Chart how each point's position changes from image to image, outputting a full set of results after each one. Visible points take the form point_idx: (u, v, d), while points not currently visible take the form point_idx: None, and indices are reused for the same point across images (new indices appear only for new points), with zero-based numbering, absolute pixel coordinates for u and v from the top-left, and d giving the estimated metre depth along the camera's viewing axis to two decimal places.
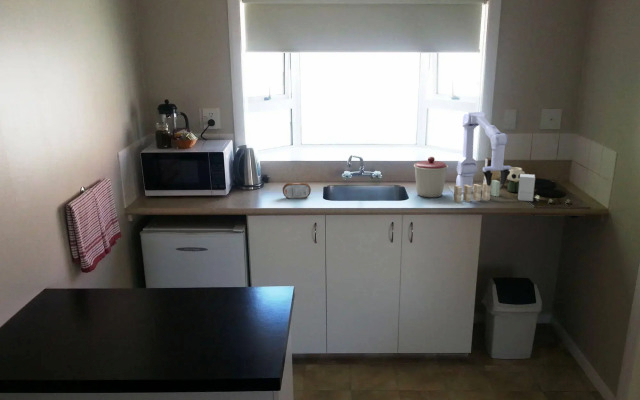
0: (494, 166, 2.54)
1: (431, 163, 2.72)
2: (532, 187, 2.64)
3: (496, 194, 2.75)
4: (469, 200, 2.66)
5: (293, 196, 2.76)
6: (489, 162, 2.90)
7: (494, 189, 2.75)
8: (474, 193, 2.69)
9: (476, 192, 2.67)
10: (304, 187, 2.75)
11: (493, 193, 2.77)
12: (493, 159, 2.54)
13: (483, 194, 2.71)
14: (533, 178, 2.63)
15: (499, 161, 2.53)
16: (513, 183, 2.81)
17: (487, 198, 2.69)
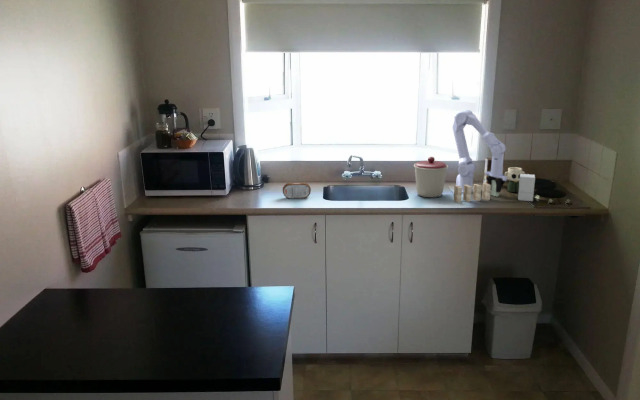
0: None
1: (431, 163, 2.72)
2: (532, 187, 2.64)
3: (496, 194, 2.75)
4: (469, 200, 2.66)
5: (293, 196, 2.76)
6: (489, 162, 2.90)
7: (494, 189, 2.75)
8: (474, 193, 2.69)
9: (476, 192, 2.67)
10: (304, 187, 2.75)
11: (493, 193, 2.77)
12: None
13: (483, 194, 2.71)
14: (533, 178, 2.63)
15: (491, 168, 2.73)
16: (513, 183, 2.81)
17: (487, 198, 2.69)
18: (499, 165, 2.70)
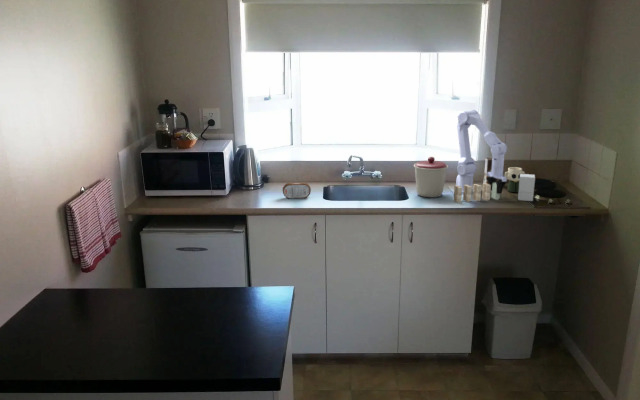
0: None
1: (431, 163, 2.72)
2: (532, 187, 2.64)
3: (496, 197, 2.70)
4: (469, 200, 2.66)
5: (293, 196, 2.76)
6: (489, 162, 2.90)
7: (495, 192, 2.70)
8: (474, 193, 2.69)
9: (476, 192, 2.67)
10: (304, 187, 2.75)
11: (493, 196, 2.71)
12: None
13: (483, 194, 2.71)
14: (533, 178, 2.63)
15: (492, 168, 2.68)
16: (513, 183, 2.81)
17: (487, 198, 2.69)
18: (498, 165, 2.65)
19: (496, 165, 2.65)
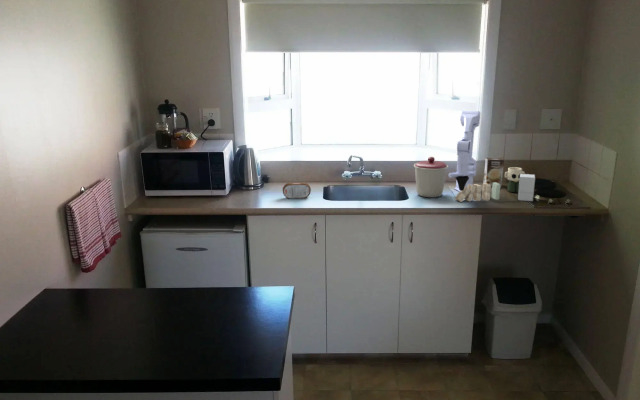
0: (459, 172, 2.61)
1: (431, 163, 2.72)
2: (532, 187, 2.64)
3: (496, 197, 2.70)
4: (469, 200, 2.66)
5: (293, 196, 2.76)
6: (489, 162, 2.90)
7: (495, 192, 2.70)
8: (474, 193, 2.69)
9: (476, 192, 2.67)
10: (304, 187, 2.75)
11: (493, 196, 2.71)
12: (458, 165, 2.61)
13: (483, 194, 2.71)
14: (533, 178, 2.63)
15: (464, 167, 2.60)
16: (513, 183, 2.81)
17: (487, 198, 2.69)
18: (458, 162, 2.61)
19: (457, 162, 2.62)
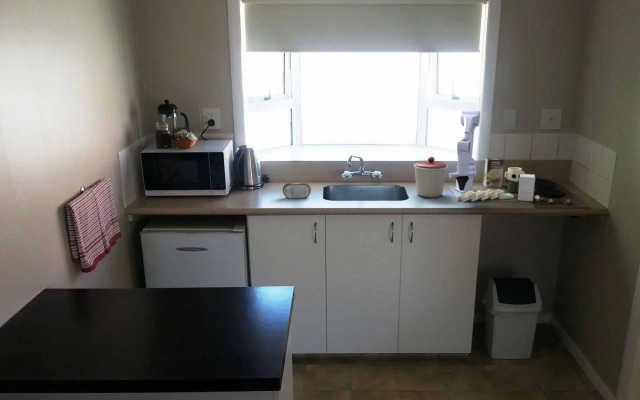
0: (460, 172, 2.61)
1: (431, 163, 2.72)
2: (532, 187, 2.64)
3: (501, 197, 2.71)
4: (473, 199, 2.66)
5: (293, 196, 2.76)
6: (489, 162, 2.90)
7: (504, 195, 2.72)
8: None
9: (487, 193, 2.69)
10: (304, 187, 2.75)
11: None
12: (458, 165, 2.61)
13: None
14: (533, 178, 2.63)
15: (464, 167, 2.60)
16: (513, 183, 2.81)
17: (492, 196, 2.69)
18: (458, 162, 2.61)
19: (457, 162, 2.62)
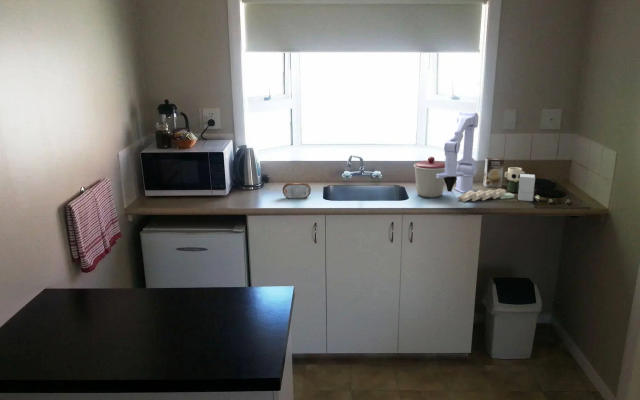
0: (447, 173, 2.59)
1: (431, 163, 2.72)
2: (532, 187, 2.64)
3: (502, 197, 2.71)
4: (473, 199, 2.66)
5: (293, 196, 2.76)
6: (489, 162, 2.90)
7: (505, 195, 2.72)
8: None
9: (488, 193, 2.69)
10: (304, 187, 2.75)
11: None
12: (446, 166, 2.59)
13: None
14: (533, 178, 2.63)
15: (452, 168, 2.58)
16: (513, 183, 2.81)
17: (494, 196, 2.70)
18: (445, 163, 2.60)
19: (445, 162, 2.61)
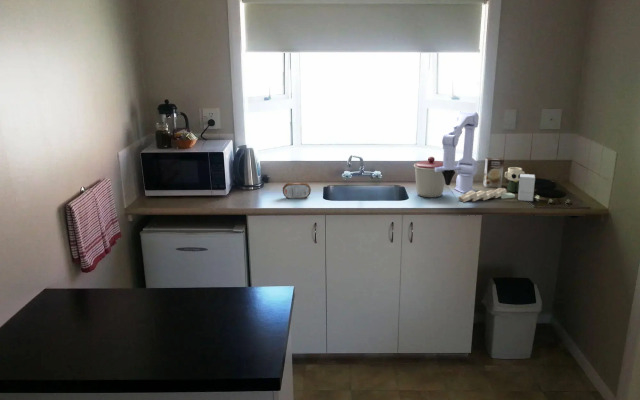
0: (446, 166, 2.58)
1: (431, 163, 2.72)
2: (532, 187, 2.64)
3: (503, 196, 2.72)
4: (474, 199, 2.66)
5: (293, 196, 2.76)
6: (489, 162, 2.90)
7: (506, 195, 2.73)
8: None
9: (489, 193, 2.69)
10: (304, 187, 2.75)
11: None
12: (444, 159, 2.58)
13: None
14: (533, 178, 2.63)
15: (450, 161, 2.57)
16: (513, 183, 2.81)
17: (496, 195, 2.70)
18: (443, 156, 2.59)
19: (443, 156, 2.60)
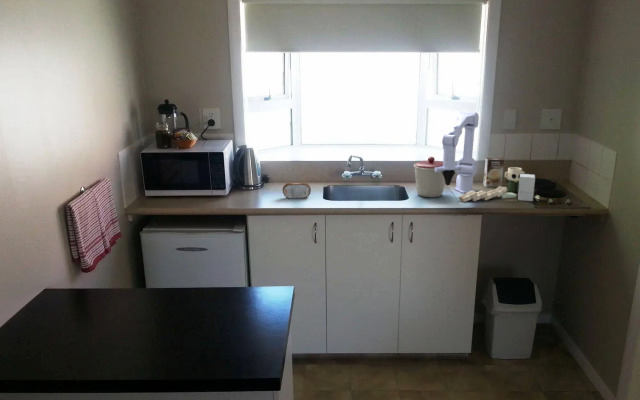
0: (446, 166, 2.58)
1: (431, 163, 2.72)
2: (532, 187, 2.64)
3: (504, 196, 2.72)
4: (474, 199, 2.67)
5: (293, 196, 2.76)
6: (489, 162, 2.90)
7: (507, 194, 2.73)
8: (487, 193, 2.71)
9: (490, 193, 2.69)
10: (304, 187, 2.75)
11: (502, 194, 2.74)
12: (444, 159, 2.58)
13: None
14: (533, 178, 2.63)
15: (450, 161, 2.57)
16: (513, 183, 2.81)
17: None
18: (443, 156, 2.59)
19: (443, 156, 2.60)
